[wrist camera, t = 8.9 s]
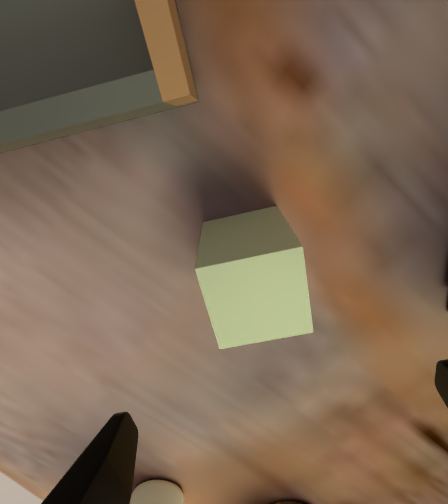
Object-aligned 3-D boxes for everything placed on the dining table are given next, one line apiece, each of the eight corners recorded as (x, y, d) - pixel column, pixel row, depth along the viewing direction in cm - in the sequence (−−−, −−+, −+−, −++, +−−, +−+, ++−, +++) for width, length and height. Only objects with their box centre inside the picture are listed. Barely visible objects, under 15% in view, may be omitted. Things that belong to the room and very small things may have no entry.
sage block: (276, 205, 17) (302, 246, 12) (286, 270, 19) (313, 332, 13) (203, 221, 17) (194, 269, 12) (220, 284, 19) (219, 349, 14)
